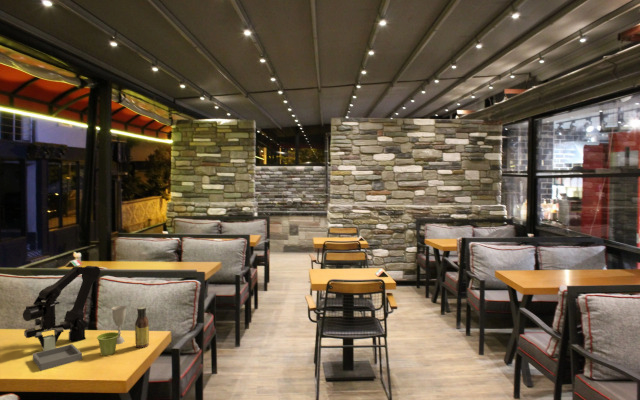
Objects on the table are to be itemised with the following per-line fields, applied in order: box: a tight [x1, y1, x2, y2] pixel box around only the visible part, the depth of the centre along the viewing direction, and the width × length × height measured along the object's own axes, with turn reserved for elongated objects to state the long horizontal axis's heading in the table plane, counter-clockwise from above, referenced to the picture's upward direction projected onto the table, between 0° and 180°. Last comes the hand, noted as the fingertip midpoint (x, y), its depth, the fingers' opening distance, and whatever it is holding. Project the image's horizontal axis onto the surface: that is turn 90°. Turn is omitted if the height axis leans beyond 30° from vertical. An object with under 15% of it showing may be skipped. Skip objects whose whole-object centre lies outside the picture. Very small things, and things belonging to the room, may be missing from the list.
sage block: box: [41, 334, 56, 351], centre depth 195 cm, size 4×4×6 cm
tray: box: [32, 343, 83, 371], centre depth 184 cm, size 16×16×3 cm
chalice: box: [111, 305, 127, 345], centre depth 205 cm, size 7×7×18 cm
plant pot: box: [96, 331, 119, 356], centre depth 191 cm, size 9×9×9 cm
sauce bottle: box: [134, 306, 150, 349], centre depth 200 cm, size 7×6×20 cm
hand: (48, 346), depth 195 cm, fingers closed on sage block, 4 cm apart
